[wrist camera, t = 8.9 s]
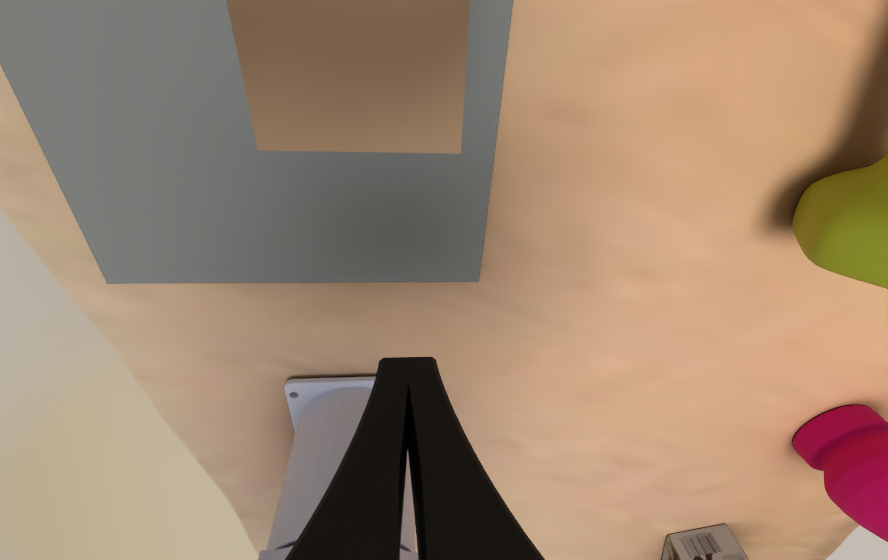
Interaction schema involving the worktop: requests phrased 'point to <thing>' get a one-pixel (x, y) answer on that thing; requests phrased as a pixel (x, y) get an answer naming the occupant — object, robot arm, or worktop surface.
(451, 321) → the worktop surface
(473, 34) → the mat
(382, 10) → the walnut block
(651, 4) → the worktop surface
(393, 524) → the robot arm
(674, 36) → the worktop surface
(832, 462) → the pepper mill
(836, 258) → the dumbbell
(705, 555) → the coffee box
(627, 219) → the worktop surface
